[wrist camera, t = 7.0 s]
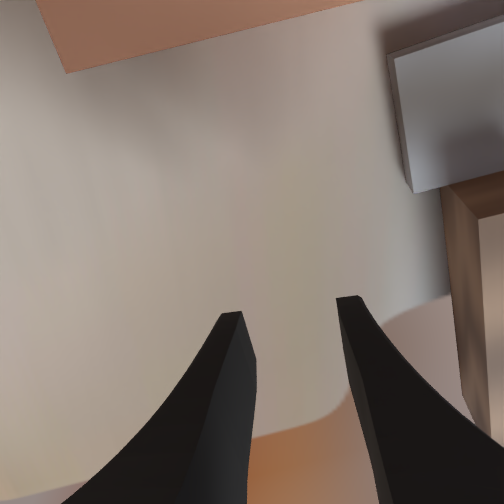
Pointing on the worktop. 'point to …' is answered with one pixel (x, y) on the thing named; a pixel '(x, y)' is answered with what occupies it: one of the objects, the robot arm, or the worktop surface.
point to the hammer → (463, 189)
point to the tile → (155, 24)
